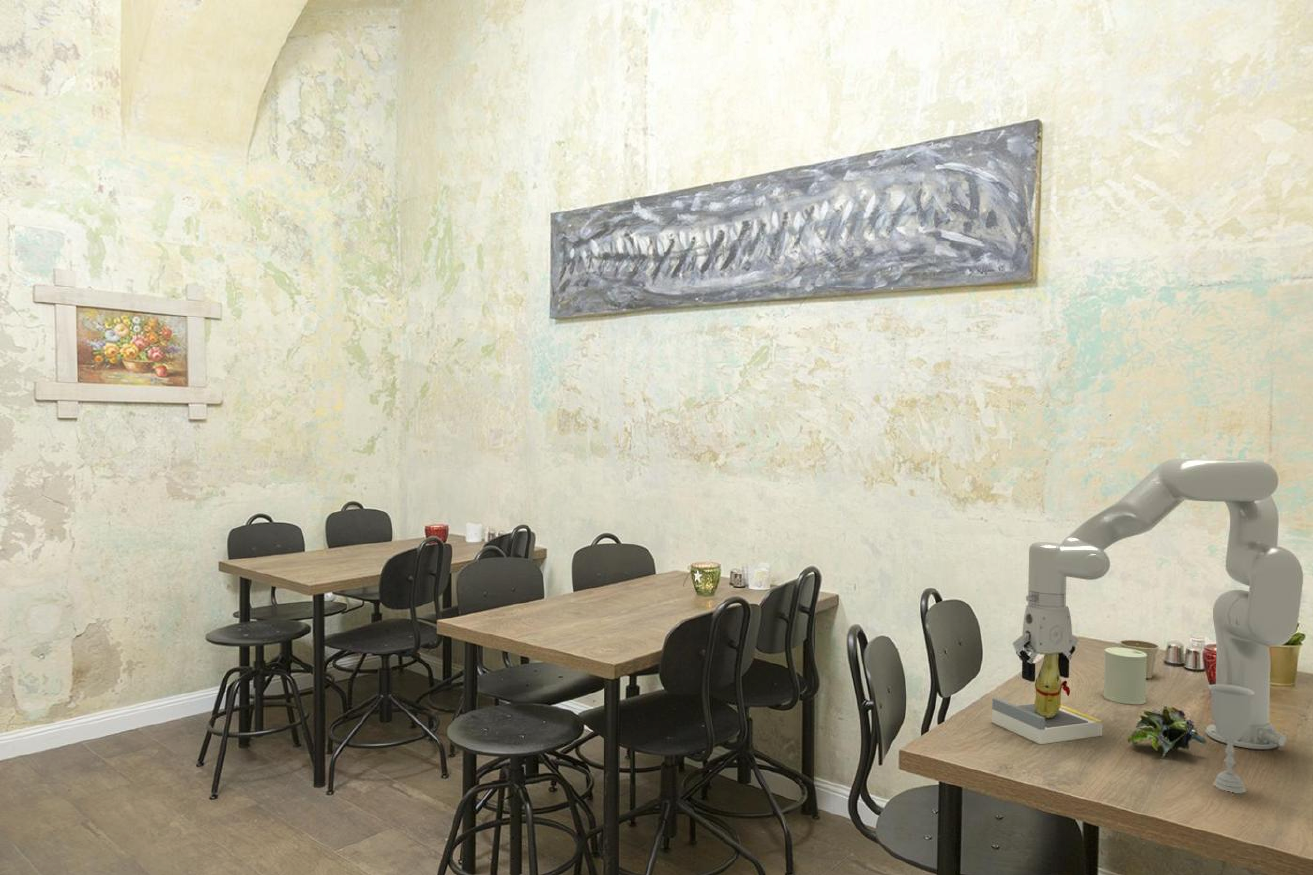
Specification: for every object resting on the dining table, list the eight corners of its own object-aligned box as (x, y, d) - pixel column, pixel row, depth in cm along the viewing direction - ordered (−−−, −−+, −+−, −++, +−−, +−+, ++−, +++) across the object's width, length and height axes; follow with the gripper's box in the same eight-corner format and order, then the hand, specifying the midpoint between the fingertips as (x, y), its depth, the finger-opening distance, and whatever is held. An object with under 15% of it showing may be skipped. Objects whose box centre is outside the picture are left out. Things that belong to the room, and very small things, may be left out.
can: (1154, 705, 205) (1155, 655, 205) (1115, 704, 205) (1116, 654, 205) (1133, 693, 214) (1134, 645, 214) (1096, 692, 214) (1097, 644, 214)
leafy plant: (1173, 775, 176) (1214, 734, 173) (1165, 781, 168) (1208, 738, 165) (1124, 733, 183) (1163, 692, 180) (1114, 737, 174) (1155, 694, 172)
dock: (1102, 735, 184) (1102, 710, 184) (1040, 744, 178) (1040, 718, 178) (1051, 714, 197) (1051, 691, 197) (992, 722, 191) (992, 698, 191)
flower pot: (1123, 679, 227) (1123, 646, 227) (1115, 669, 236) (1115, 638, 236) (1163, 682, 224) (1163, 649, 224) (1153, 673, 233) (1154, 641, 233)
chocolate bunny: (1030, 717, 184) (1036, 648, 183) (1036, 704, 193) (1041, 638, 193) (1065, 725, 180) (1071, 654, 180) (1069, 711, 190) (1075, 644, 190)
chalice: (1235, 779, 161) (1237, 684, 161) (1262, 795, 154) (1264, 695, 154) (1197, 779, 161) (1199, 684, 160) (1222, 795, 154) (1224, 695, 154)
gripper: (1028, 605, 180) (1026, 686, 180) (1091, 600, 186) (1089, 679, 186) (1002, 598, 187) (1001, 676, 187) (1064, 594, 193) (1062, 670, 193)
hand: (1045, 678), depth 187 cm, fingers open, 9 cm apart
